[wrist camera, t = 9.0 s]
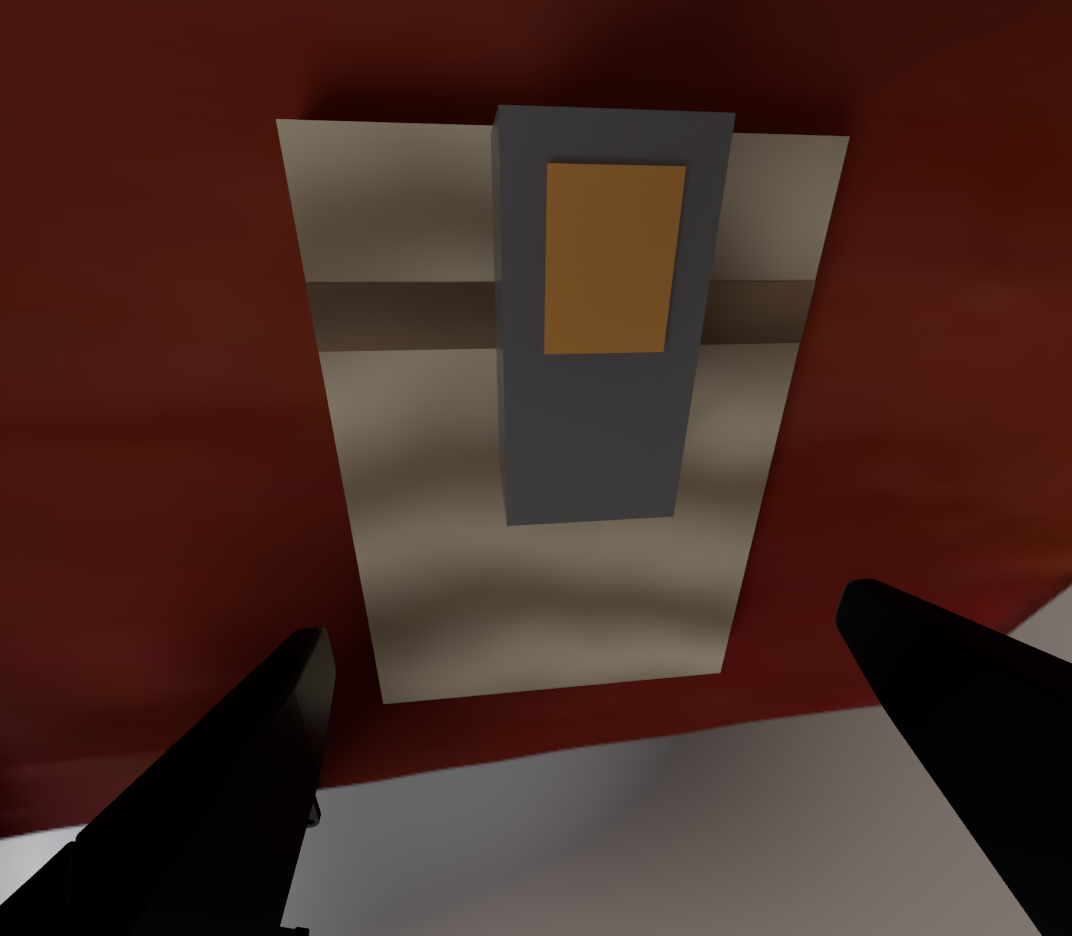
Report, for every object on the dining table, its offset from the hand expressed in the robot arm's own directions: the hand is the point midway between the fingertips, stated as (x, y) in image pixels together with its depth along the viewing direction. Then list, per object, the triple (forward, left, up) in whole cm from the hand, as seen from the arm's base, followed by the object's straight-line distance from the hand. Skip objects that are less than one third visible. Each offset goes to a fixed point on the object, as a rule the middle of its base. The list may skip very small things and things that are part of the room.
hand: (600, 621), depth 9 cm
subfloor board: (-3, -1, -12) cm, 12 cm away
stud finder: (+3, -1, -10) cm, 11 cm away
